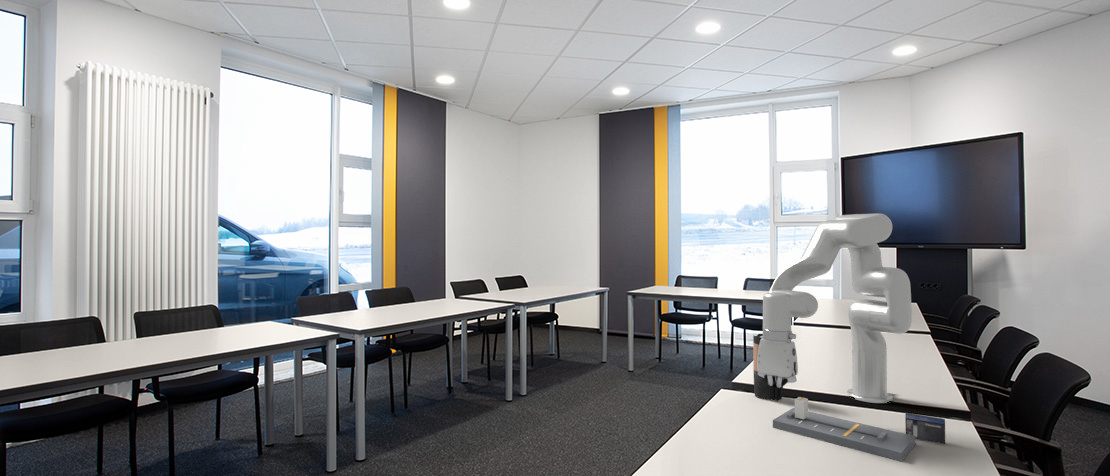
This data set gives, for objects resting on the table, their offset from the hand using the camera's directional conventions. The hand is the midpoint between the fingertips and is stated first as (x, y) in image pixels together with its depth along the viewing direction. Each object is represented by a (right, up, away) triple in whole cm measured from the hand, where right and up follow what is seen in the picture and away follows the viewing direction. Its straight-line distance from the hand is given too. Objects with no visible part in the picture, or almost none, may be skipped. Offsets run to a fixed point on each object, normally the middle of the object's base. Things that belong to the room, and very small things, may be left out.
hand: (776, 399), depth 146 cm
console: (+12, -6, -12) cm, 18 cm away
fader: (+5, -3, -4) cm, 8 cm away
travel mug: (+6, -6, +21) cm, 22 cm away
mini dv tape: (+32, -6, -15) cm, 35 cm away
